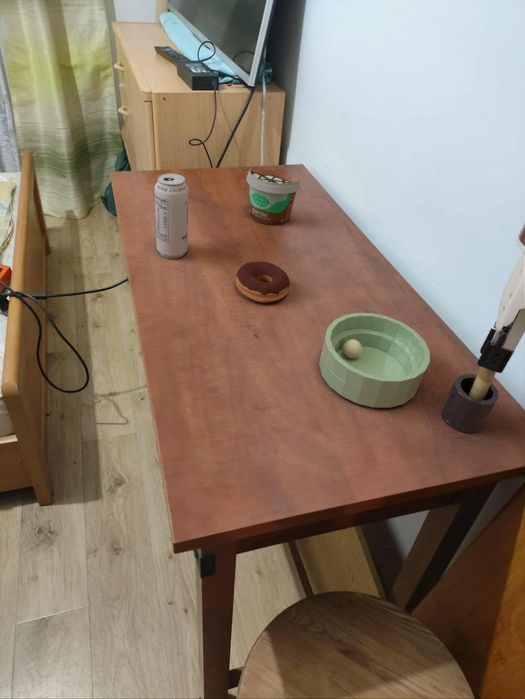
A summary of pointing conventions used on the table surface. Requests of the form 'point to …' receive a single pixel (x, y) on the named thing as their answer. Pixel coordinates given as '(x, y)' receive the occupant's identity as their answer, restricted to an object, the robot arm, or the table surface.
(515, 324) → the robot arm
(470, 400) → the holder
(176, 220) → the energy drink can
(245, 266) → the donut
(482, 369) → the stick
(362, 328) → the bowl
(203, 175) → the table surface
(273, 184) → the food container
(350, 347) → the ball
